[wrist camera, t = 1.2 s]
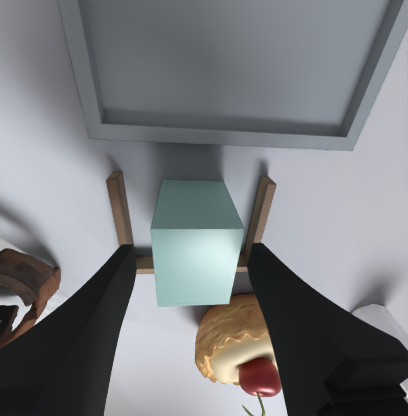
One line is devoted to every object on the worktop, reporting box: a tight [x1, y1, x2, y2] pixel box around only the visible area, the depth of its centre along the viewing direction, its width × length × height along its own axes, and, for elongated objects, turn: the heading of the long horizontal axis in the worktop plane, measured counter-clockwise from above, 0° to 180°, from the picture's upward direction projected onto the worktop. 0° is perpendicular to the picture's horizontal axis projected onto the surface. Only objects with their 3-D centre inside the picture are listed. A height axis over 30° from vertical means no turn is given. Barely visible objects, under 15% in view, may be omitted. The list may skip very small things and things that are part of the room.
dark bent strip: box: [106, 172, 276, 274], centre depth 16 cm, size 11×9×2 cm
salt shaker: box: [351, 303, 408, 398], centre depth 22 cm, size 5×5×11 cm
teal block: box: [150, 180, 245, 307], centre depth 13 cm, size 4×6×6 cm
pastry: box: [195, 293, 282, 416], centre depth 21 cm, size 12×12×9 cm
